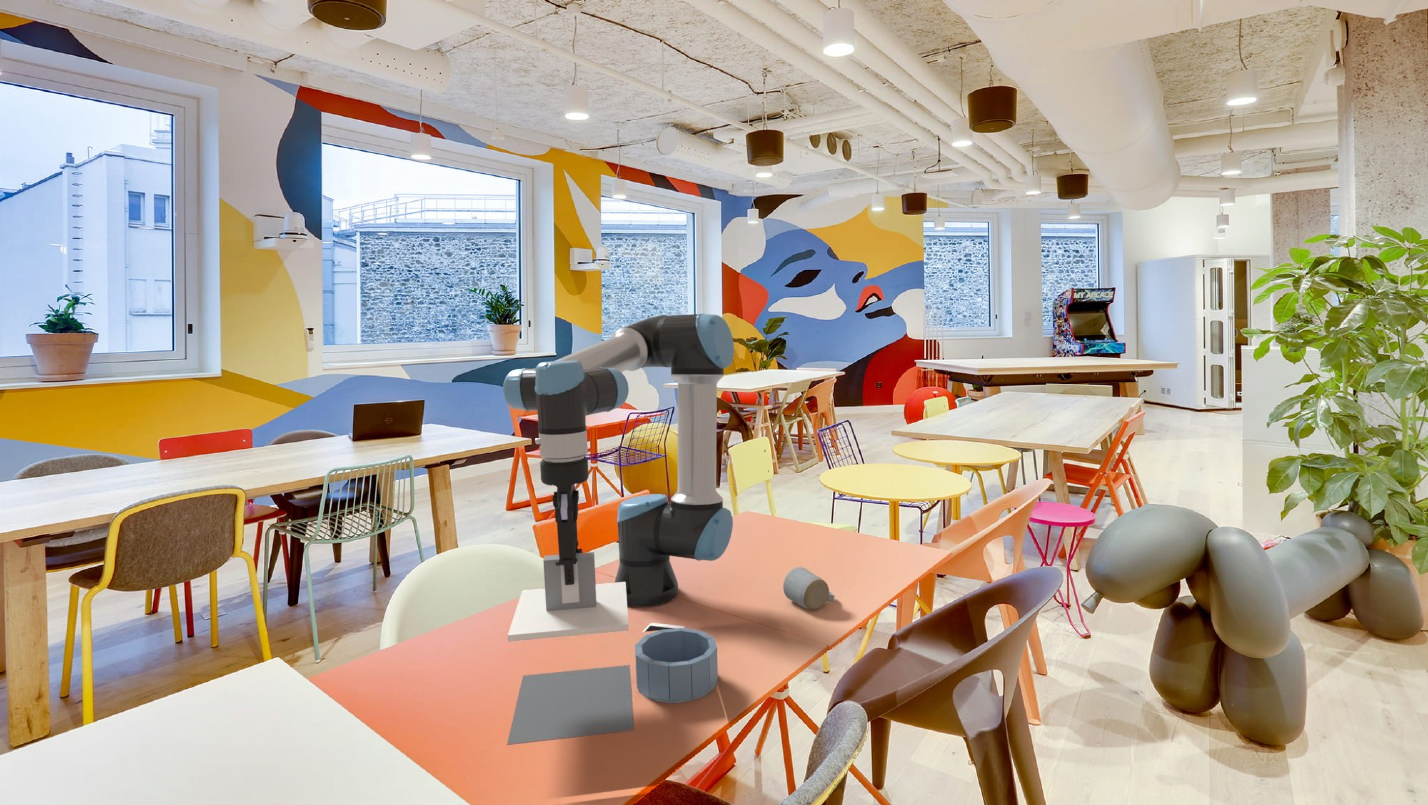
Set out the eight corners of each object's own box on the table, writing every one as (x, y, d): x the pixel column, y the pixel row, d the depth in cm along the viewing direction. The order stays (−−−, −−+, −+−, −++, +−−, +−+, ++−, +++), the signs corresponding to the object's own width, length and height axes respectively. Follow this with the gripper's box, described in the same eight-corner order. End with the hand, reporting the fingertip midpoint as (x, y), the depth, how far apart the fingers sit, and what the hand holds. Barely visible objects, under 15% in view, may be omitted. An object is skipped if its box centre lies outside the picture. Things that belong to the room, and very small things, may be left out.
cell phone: (617, 661, 132) (617, 658, 132) (651, 625, 147) (650, 622, 147) (655, 666, 129) (655, 663, 129) (685, 629, 145) (685, 626, 145)
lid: (522, 595, 122) (519, 543, 121) (625, 587, 125) (623, 535, 124) (508, 641, 105) (504, 580, 104) (628, 630, 107) (626, 571, 106)
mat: (523, 678, 125) (523, 675, 125) (629, 668, 128) (629, 665, 128) (507, 748, 105) (506, 744, 105) (634, 733, 107) (634, 730, 107)
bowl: (635, 668, 128) (633, 632, 127) (710, 661, 130) (709, 625, 129) (638, 710, 114) (637, 669, 113) (723, 700, 116) (721, 661, 115)
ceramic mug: (805, 615, 149) (805, 580, 148) (782, 603, 156) (782, 569, 155) (843, 605, 154) (843, 571, 154) (818, 593, 161) (819, 561, 160)
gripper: (544, 450, 119) (551, 582, 122) (534, 468, 104) (543, 619, 106) (588, 447, 120) (595, 579, 123) (586, 465, 105) (593, 615, 107)
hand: (571, 597), depth 114 cm, fingers closed on lid, 2 cm apart
